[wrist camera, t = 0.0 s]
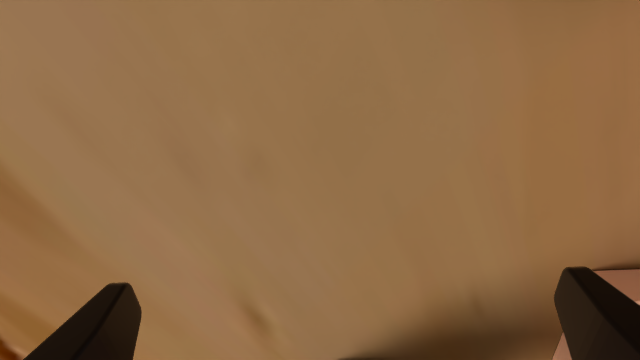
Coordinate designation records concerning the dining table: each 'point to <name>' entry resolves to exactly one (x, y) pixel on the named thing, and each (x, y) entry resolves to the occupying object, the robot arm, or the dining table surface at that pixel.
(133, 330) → the robot arm
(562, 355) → the holder
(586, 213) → the dining table surface
